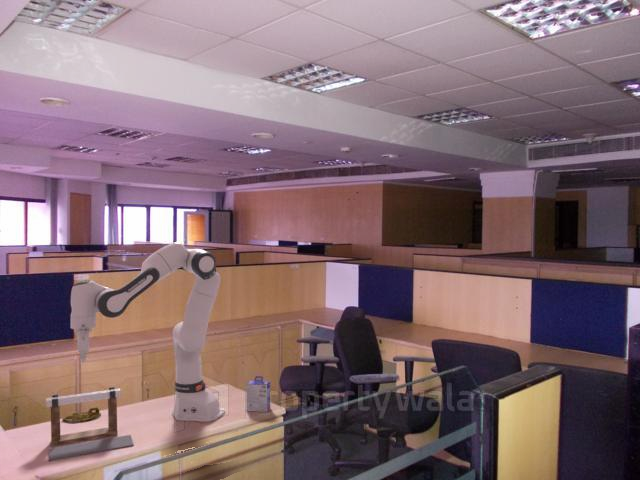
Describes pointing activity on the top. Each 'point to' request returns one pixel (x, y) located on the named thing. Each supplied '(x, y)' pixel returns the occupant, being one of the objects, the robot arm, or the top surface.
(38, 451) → the top surface
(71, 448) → the mat
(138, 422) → the top surface
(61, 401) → the rail
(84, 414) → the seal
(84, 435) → the hook stand
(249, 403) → the ink cartridge box
